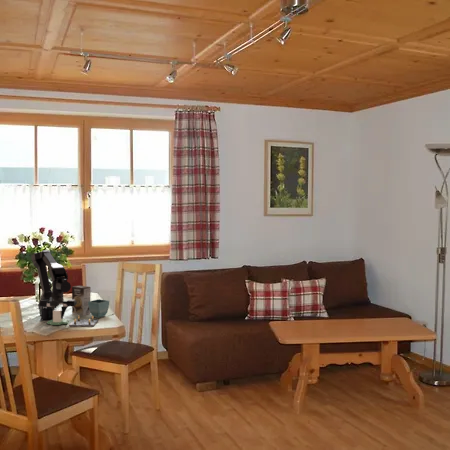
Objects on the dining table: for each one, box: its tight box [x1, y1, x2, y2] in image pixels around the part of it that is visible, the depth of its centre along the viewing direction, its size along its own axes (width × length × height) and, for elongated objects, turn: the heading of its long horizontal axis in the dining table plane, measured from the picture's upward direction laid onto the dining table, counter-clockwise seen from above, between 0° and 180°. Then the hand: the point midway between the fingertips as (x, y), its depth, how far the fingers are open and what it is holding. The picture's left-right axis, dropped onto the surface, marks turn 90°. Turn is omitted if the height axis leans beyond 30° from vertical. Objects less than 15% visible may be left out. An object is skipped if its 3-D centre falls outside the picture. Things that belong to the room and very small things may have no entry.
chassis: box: [68, 315, 99, 328], centre depth 299 cm, size 13×13×4 cm
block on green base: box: [46, 308, 70, 326], centre depth 299 cm, size 10×10×7 cm
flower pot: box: [88, 298, 110, 318], centre depth 318 cm, size 9×9×9 cm
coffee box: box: [71, 285, 91, 316], centre depth 326 cm, size 9×6×16 cm
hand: (58, 318), depth 299 cm, fingers closed on block on green base, 4 cm apart
